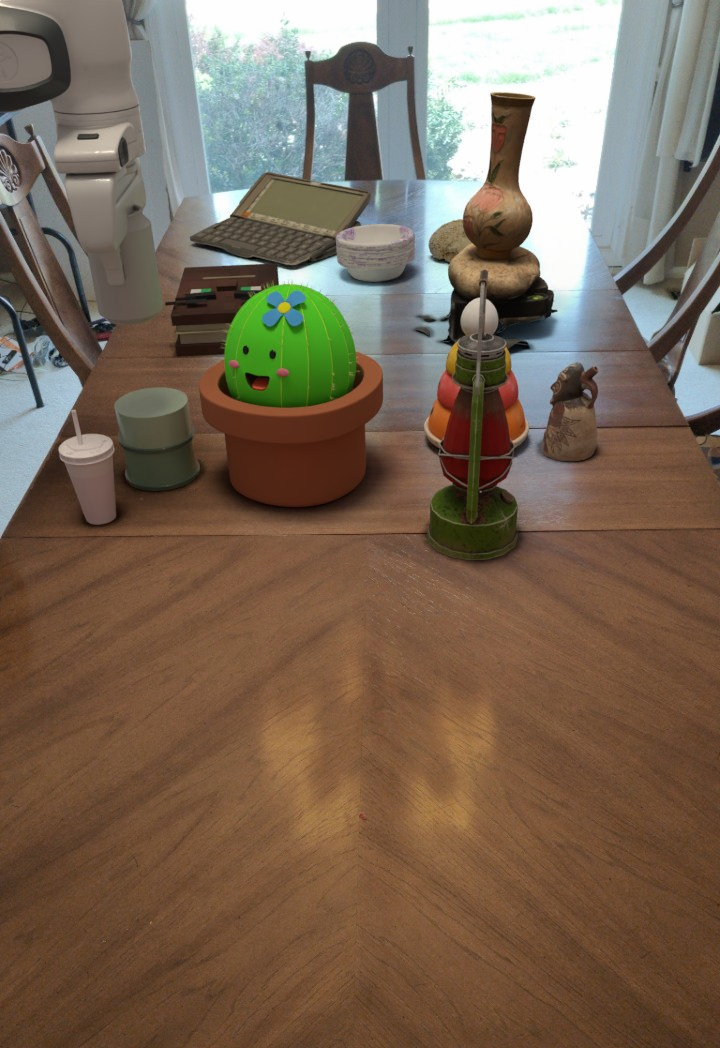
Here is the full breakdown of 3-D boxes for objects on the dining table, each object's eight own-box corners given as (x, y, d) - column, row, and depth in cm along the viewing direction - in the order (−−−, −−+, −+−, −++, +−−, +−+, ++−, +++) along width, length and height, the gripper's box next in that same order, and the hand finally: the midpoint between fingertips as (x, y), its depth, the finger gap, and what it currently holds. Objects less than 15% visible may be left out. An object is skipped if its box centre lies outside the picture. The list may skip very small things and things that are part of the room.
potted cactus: (268, 427, 140) (251, 245, 124) (409, 455, 132) (410, 264, 116) (180, 497, 124) (149, 299, 109) (334, 534, 116) (324, 325, 101)
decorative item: (441, 250, 191) (424, 216, 195) (439, 285, 199) (423, 251, 203) (499, 235, 192) (481, 202, 197) (495, 271, 200) (478, 238, 204)
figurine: (556, 433, 135) (564, 349, 128) (604, 446, 132) (615, 360, 125) (532, 453, 131) (539, 367, 124) (581, 467, 127) (591, 379, 120)
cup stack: (119, 492, 126) (104, 420, 120) (132, 457, 134) (119, 387, 127) (195, 490, 126) (184, 417, 120) (204, 454, 133) (194, 385, 127)
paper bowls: (334, 266, 198) (332, 224, 193) (408, 261, 199) (408, 220, 194) (341, 290, 186) (339, 246, 181) (420, 285, 187) (420, 241, 182)
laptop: (269, 219, 228) (265, 170, 222) (375, 241, 211) (374, 189, 205) (187, 245, 213) (180, 193, 206) (294, 271, 196) (290, 216, 190)
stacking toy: (451, 409, 142) (455, 273, 131) (543, 429, 137) (556, 287, 125) (405, 450, 133) (405, 306, 121) (502, 472, 127) (512, 323, 115)
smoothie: (85, 502, 124) (62, 398, 115) (134, 505, 123) (114, 400, 114) (66, 529, 119) (40, 421, 110) (117, 531, 118) (95, 423, 109)
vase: (586, 330, 166) (612, 96, 144) (484, 362, 156) (497, 116, 135) (495, 295, 181) (506, 79, 160) (397, 321, 172) (396, 96, 150)
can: (177, 314, 115) (162, 206, 108) (125, 332, 111) (105, 221, 104) (139, 301, 120) (121, 196, 112) (87, 318, 115) (65, 210, 108)
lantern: (517, 570, 109) (539, 299, 90) (421, 565, 110) (424, 297, 92) (519, 507, 120) (539, 254, 101) (432, 503, 121) (436, 252, 103)
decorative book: (283, 254, 180) (282, 310, 156) (286, 295, 184) (285, 356, 161) (178, 259, 179) (160, 315, 156) (184, 300, 184) (167, 361, 160)
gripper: (92, 119, 112) (114, 245, 121) (48, 159, 96) (77, 301, 104) (147, 118, 112) (165, 243, 120) (113, 157, 96) (136, 299, 104)
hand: (124, 271), depth 112 cm, fingers closed on can, 7 cm apart
